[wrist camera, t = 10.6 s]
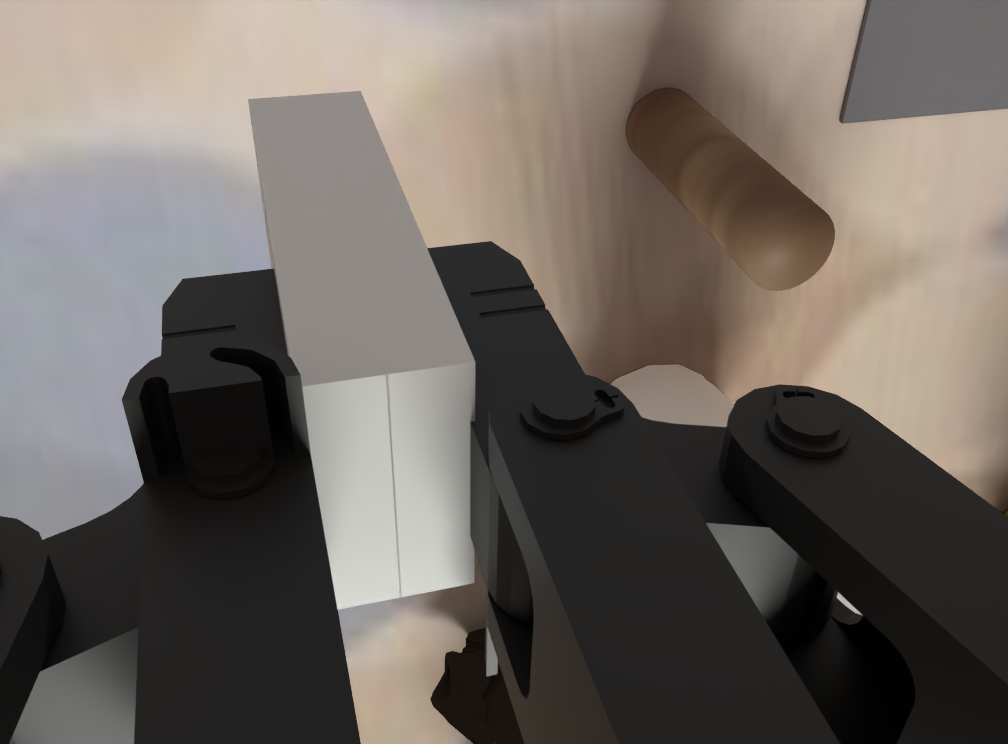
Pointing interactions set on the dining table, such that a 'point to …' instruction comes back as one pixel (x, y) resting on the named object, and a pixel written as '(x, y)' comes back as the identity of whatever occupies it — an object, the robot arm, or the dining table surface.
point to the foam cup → (679, 401)
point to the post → (731, 190)
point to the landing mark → (928, 59)
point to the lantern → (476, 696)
